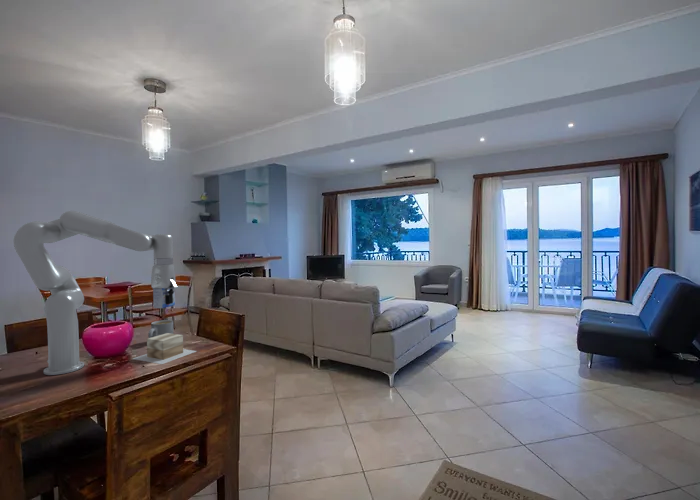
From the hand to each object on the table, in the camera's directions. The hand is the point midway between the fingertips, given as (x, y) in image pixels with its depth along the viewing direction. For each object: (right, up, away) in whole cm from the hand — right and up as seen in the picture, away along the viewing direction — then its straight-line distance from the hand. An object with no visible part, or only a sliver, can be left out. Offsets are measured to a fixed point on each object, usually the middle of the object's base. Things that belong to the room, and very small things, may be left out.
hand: (164, 302), depth 152 cm
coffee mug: (-15, -24, +23) cm, 37 cm away
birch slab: (0, -19, 0) cm, 19 cm away
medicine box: (0, -2, 0) cm, 2 cm away
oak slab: (0, -23, +1) cm, 23 cm away
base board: (0, -24, +1) cm, 24 cm away
